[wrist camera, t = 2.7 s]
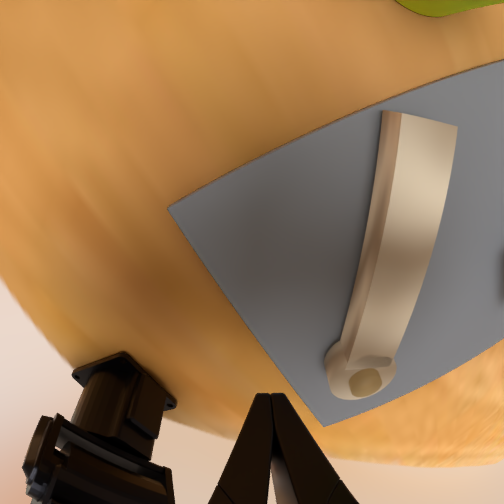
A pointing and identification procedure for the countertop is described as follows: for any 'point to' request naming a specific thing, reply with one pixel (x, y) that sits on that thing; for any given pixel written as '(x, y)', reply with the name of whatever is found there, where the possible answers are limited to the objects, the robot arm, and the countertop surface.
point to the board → (359, 241)
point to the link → (393, 251)
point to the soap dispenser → (444, 6)
